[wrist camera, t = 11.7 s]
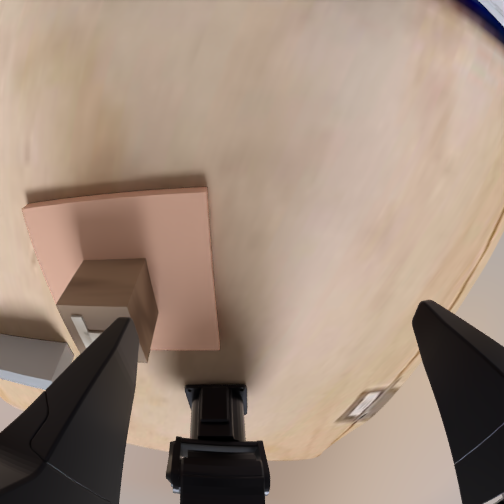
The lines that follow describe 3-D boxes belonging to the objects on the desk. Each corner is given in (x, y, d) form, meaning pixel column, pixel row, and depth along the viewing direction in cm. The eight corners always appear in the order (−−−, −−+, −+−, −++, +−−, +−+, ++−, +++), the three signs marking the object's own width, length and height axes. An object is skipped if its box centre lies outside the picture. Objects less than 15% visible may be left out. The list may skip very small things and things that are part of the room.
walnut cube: (158, 312, 22) (146, 364, 18) (101, 311, 22) (82, 359, 18) (145, 258, 20) (126, 308, 15) (83, 260, 20) (54, 306, 15)
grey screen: (74, 355, 27) (60, 392, 22) (-8, 342, 26) (-24, 370, 21) (66, 343, 25) (51, 380, 21) (-15, 331, 25) (-32, 359, 20)
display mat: (219, 341, 26) (219, 350, 25) (79, 337, 25) (76, 345, 24) (207, 186, 19) (206, 192, 18) (28, 203, 18) (21, 209, 17)
